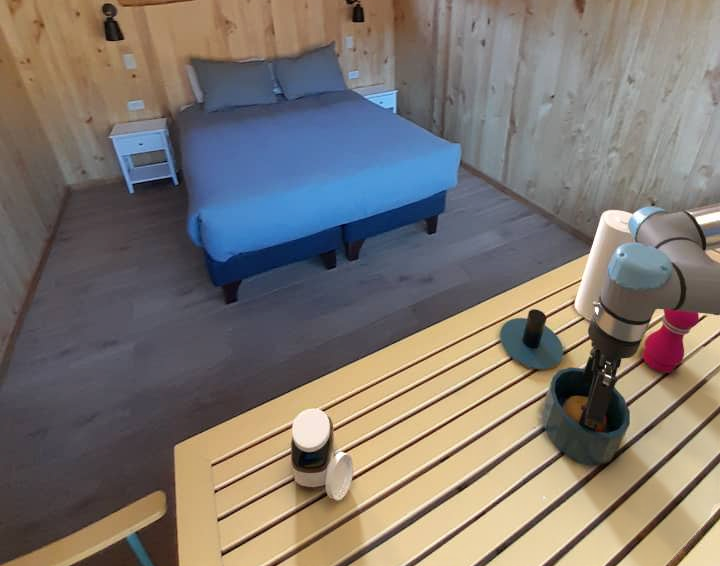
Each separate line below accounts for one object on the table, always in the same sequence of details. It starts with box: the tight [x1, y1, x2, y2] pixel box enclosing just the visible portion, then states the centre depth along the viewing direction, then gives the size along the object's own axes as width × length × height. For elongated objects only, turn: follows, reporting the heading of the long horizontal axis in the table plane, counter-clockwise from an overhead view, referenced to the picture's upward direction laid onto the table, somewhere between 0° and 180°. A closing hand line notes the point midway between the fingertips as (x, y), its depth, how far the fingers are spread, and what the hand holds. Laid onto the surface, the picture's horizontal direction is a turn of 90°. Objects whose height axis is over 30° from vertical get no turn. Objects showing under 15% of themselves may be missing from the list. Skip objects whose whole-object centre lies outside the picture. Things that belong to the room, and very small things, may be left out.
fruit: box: [562, 396, 607, 433], centre depth 80 cm, size 8×8×8 cm
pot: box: [541, 366, 631, 467], centre depth 80 cm, size 14×14×10 cm
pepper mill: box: [642, 309, 700, 374], centre depth 90 cm, size 7×7×20 cm
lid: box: [499, 308, 564, 371], centre depth 97 cm, size 15×15×10 cm
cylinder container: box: [574, 209, 636, 322], centre depth 102 cm, size 9×9×30 cm
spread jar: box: [290, 408, 354, 501], centre depth 74 cm, size 12×11×12 cm
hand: (587, 404), depth 78 cm, fingers closed on pot, 10 cm apart
